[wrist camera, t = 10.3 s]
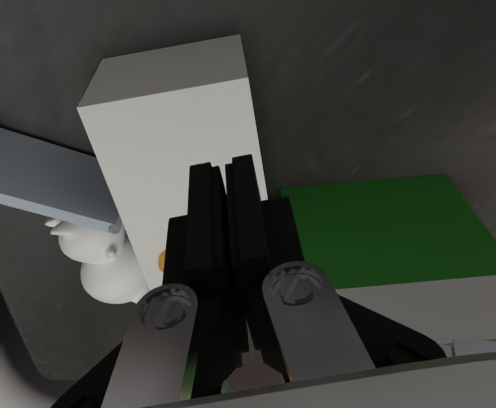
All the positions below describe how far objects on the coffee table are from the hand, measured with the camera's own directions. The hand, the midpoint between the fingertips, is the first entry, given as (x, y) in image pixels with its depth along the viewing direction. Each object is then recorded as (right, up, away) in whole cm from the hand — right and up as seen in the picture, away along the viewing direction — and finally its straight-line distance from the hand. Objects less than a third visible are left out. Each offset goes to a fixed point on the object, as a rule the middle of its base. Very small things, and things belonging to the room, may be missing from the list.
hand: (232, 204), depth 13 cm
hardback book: (+13, 0, +40) cm, 42 cm away
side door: (-18, +6, +31) cm, 37 cm away
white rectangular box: (-5, +5, +34) cm, 34 cm away
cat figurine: (-13, -2, +39) cm, 41 cm away
